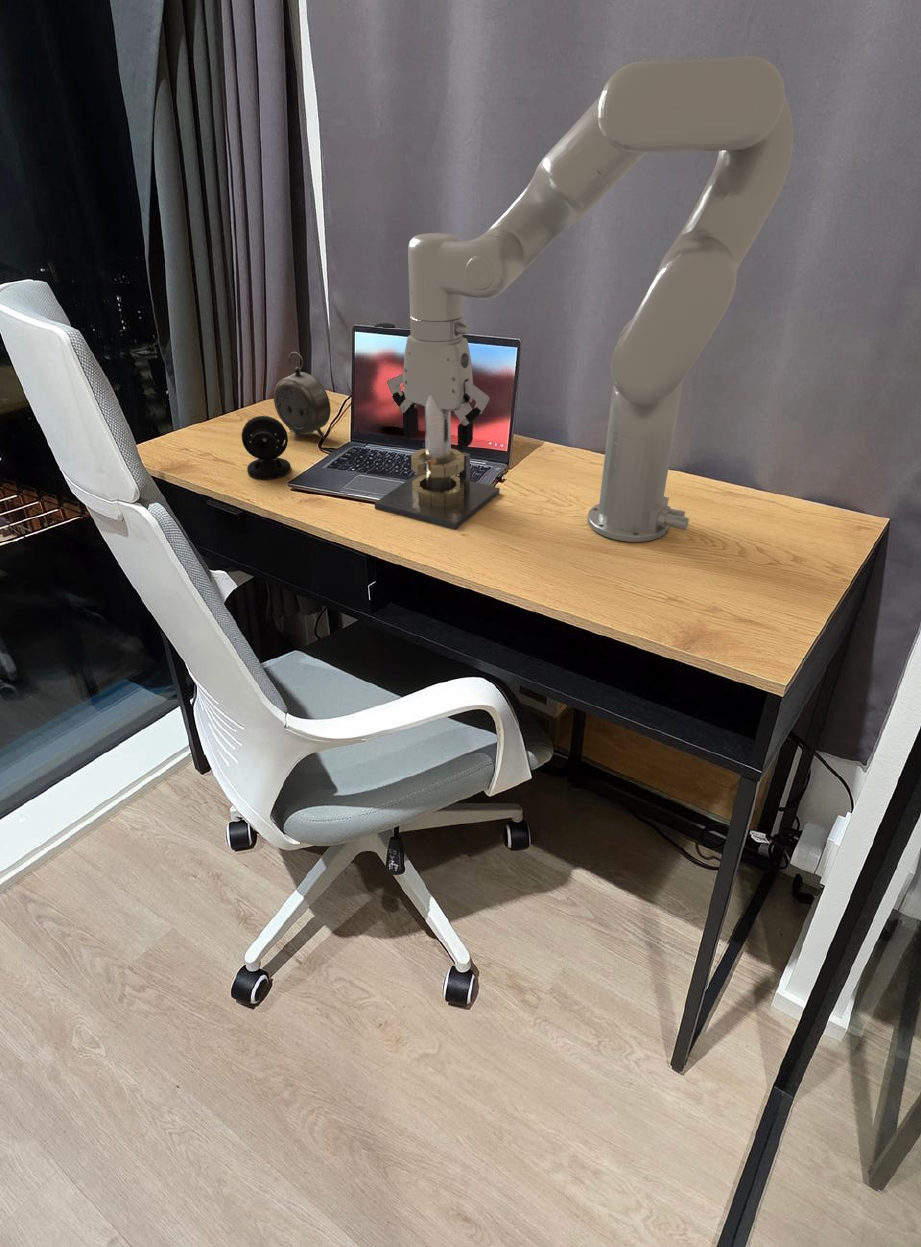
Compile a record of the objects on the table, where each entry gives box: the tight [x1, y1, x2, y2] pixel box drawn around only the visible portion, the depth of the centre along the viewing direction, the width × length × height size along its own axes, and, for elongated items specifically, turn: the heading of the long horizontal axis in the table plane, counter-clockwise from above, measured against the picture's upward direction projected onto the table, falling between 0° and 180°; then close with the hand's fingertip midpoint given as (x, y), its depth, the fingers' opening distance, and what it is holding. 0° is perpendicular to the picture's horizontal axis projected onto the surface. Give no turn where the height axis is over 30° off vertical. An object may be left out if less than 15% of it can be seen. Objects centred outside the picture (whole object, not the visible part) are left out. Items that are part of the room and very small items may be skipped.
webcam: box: [241, 415, 292, 480], centre depth 137 cm, size 8×8×10 cm
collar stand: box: [374, 448, 501, 531], centre depth 128 cm, size 15×15×8 cm
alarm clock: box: [273, 351, 332, 441], centre depth 149 cm, size 11×5×16 cm, turn 58°
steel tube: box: [423, 395, 452, 492], centre depth 125 cm, size 4×4×18 cm
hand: (437, 441), depth 125 cm, fingers open, 9 cm apart
